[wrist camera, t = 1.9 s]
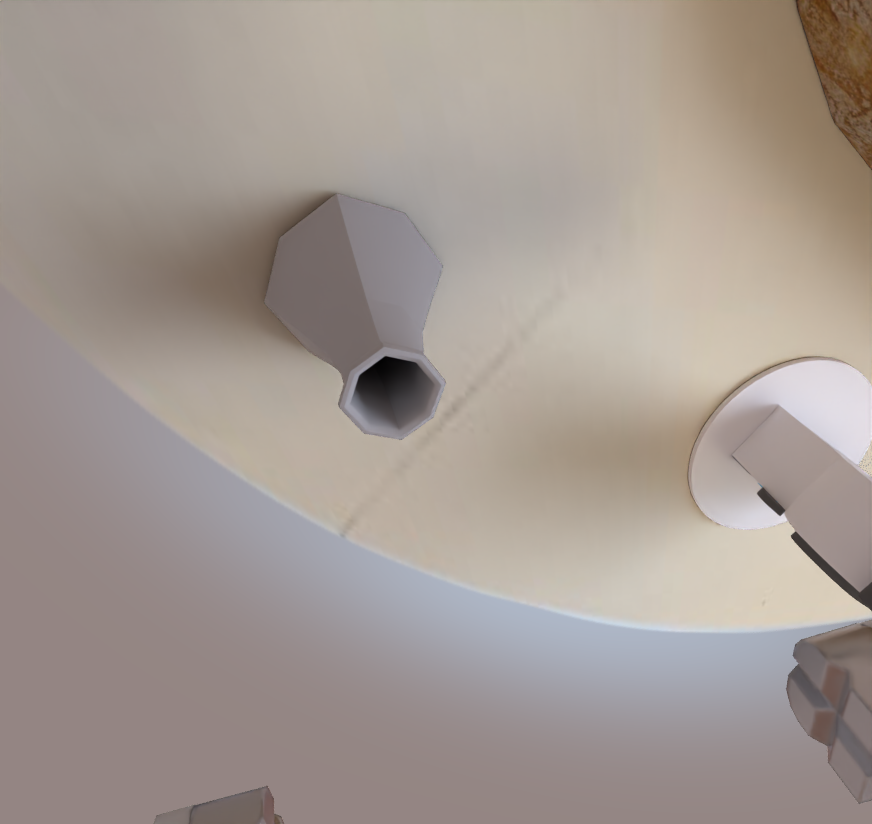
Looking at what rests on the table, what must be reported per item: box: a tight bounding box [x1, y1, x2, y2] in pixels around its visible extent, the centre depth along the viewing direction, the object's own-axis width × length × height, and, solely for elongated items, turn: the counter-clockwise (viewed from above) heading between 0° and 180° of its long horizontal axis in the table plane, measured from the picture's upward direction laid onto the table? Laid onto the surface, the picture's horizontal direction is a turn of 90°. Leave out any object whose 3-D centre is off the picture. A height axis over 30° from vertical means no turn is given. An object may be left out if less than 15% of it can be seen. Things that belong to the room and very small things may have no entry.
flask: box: [264, 193, 446, 440], centre depth 27 cm, size 7×7×10 cm
